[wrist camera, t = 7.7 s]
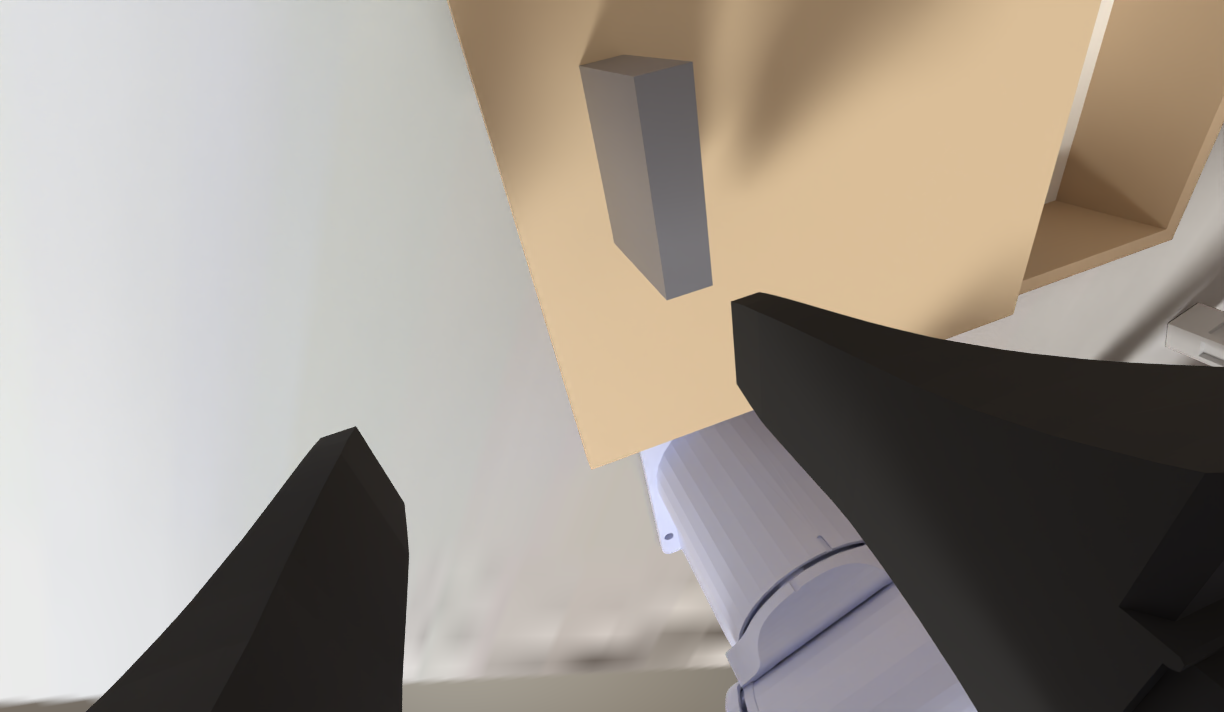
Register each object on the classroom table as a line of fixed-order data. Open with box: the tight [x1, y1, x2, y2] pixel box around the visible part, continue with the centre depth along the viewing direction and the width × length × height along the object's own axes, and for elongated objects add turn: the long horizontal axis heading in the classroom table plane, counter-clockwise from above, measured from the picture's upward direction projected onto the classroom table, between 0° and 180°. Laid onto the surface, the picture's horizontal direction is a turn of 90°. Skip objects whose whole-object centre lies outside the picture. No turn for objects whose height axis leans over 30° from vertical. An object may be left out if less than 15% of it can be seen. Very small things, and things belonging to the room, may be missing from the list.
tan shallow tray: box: [1019, 0, 1224, 295], centre depth 17 cm, size 18×16×5 cm
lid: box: [447, 0, 1102, 470], centre depth 12 cm, size 18×16×4 cm
